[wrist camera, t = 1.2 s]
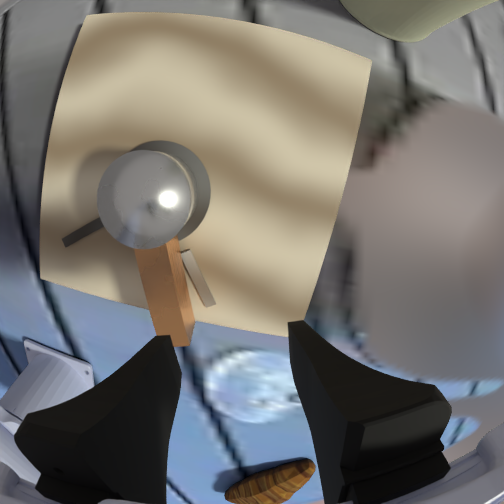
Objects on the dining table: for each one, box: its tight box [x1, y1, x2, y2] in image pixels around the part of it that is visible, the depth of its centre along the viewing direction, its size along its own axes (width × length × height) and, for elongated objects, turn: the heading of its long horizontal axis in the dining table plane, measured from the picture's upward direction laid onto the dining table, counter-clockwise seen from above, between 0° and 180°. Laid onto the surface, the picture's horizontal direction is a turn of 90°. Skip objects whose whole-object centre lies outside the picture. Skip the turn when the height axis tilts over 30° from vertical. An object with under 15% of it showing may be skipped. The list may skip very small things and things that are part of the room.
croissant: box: [224, 459, 316, 504], centre depth 27 cm, size 14×7×5 cm, turn 130°
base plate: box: [40, 12, 372, 337], centre depth 17 cm, size 20×20×2 cm
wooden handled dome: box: [97, 150, 198, 347], centre depth 16 cm, size 11×5×3 cm, turn 7°
